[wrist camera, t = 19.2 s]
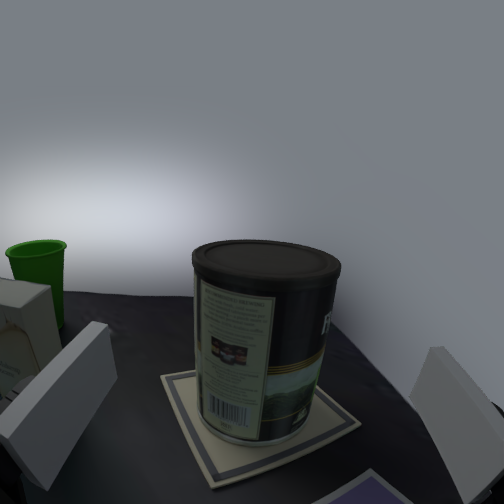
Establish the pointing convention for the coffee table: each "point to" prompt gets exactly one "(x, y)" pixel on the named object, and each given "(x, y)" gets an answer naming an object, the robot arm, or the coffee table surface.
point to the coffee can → (260, 336)
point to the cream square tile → (247, 457)
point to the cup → (41, 268)
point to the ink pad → (365, 492)
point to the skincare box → (25, 331)
